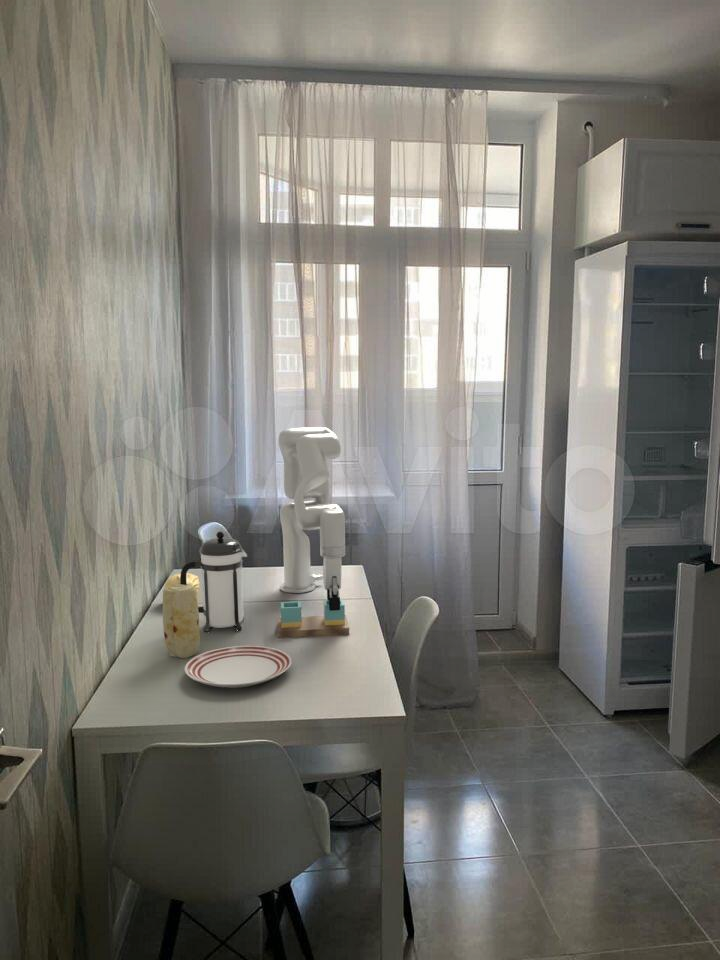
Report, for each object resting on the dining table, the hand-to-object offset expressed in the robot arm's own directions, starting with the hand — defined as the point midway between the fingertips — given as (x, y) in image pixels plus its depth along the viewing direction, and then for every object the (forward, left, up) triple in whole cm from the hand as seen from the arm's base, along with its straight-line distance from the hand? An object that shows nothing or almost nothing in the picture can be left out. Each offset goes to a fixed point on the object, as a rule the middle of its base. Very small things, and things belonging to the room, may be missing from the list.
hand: (333, 604), depth 227 cm
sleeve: (0, 0, -5) cm, 5 cm away
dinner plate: (+39, +14, -8) cm, 42 cm away
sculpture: (+28, -52, -8) cm, 59 cm away
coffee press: (+28, -22, -7) cm, 36 cm away
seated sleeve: (+12, -6, -5) cm, 14 cm away
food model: (+46, -7, -7) cm, 47 cm away
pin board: (+6, -3, -7) cm, 10 cm away
